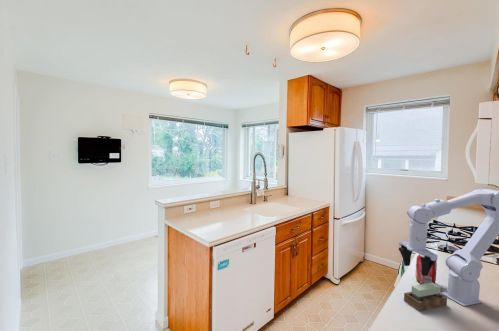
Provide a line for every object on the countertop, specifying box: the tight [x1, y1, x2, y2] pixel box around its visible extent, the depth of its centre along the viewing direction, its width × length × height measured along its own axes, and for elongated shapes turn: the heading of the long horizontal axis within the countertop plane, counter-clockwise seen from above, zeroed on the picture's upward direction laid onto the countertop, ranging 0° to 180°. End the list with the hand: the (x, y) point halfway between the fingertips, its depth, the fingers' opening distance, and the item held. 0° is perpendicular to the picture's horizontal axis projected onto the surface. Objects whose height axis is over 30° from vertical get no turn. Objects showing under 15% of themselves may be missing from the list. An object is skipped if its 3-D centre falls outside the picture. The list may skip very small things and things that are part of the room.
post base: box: [403, 291, 448, 312], centre depth 87 cm, size 13×6×3 cm, turn 105°
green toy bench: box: [410, 283, 441, 301], centre depth 87 cm, size 10×3×6 cm, turn 105°
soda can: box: [415, 253, 438, 284], centre depth 101 cm, size 7×7×12 cm
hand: (415, 270), depth 93 cm, fingers open, 7 cm apart
